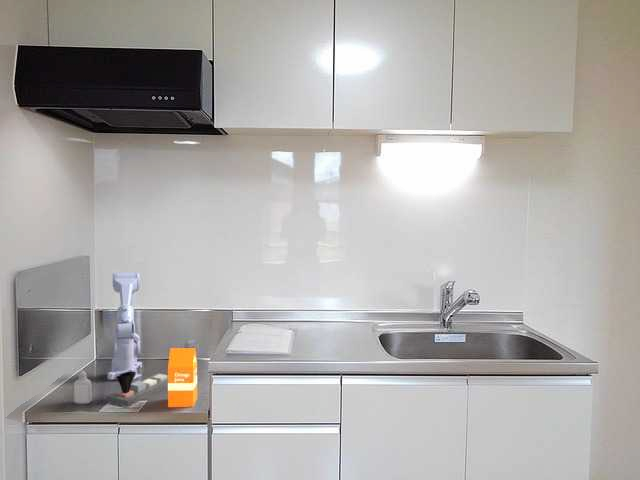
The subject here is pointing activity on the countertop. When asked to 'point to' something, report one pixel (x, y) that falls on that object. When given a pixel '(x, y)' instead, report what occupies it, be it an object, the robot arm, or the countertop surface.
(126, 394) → the terracotta key
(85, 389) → the eye dropper bottle
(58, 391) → the countertop surface
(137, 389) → the slate key
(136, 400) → the grey slotted tray
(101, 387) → the countertop surface
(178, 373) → the orange juice
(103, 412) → the countertop surface
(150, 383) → the cream key
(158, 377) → the sage key
